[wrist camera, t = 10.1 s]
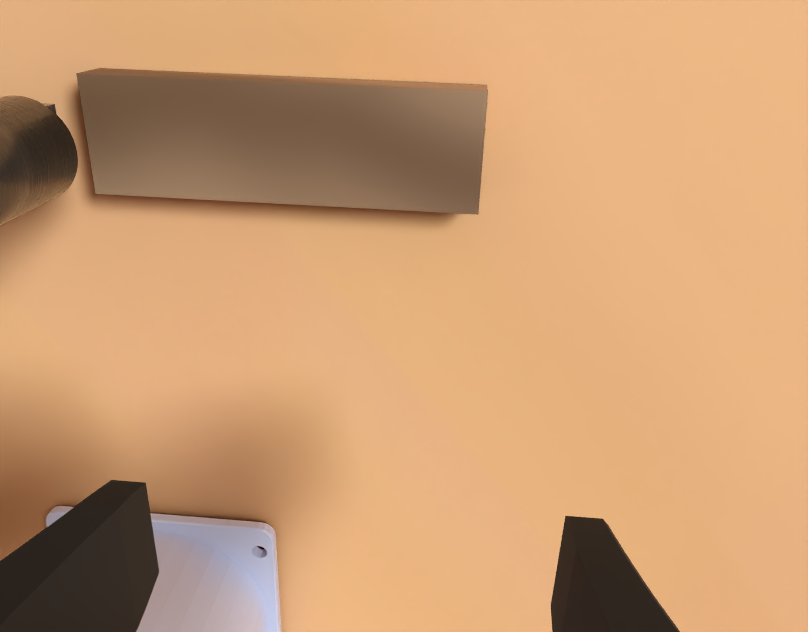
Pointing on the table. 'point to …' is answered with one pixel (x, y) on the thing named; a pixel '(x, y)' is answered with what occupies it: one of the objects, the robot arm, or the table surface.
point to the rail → (285, 139)
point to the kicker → (32, 156)
